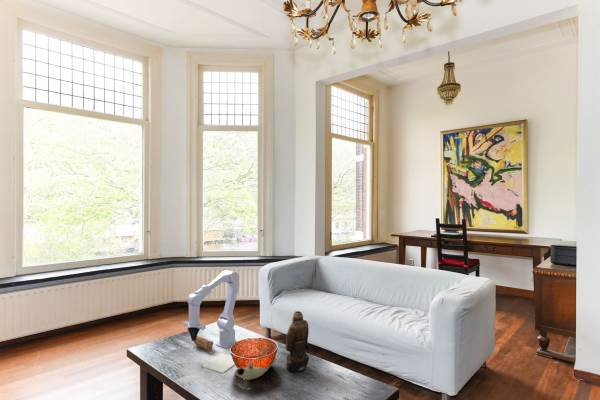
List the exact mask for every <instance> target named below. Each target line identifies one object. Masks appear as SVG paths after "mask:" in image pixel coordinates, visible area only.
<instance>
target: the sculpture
mask: <svg viewBox="0 0 600 400" xmlns="http://www.w3.org/2000/svg"><path fill="white" fill-rule="evenodd" d="M291 320H292V322H291V323H290V325H289V327H288V330H287V333H286V335H285V338H286V340H285V343H286V345H285V346H286V347H285V349H286V351H287V352H289V353H288V354H287V355H286V364H285V369H286V370H287V371H289V372H291V373H295V374H297V373H302V372H304V371H305V370H306V369H307V366H308V364H309V361H310V360H309V359H310V358H309V355H308V354H307V351H306V350H308V349H309V347H310V346H309V340H308V338H309V329H310V328H309V323H308V321H307V320H305V319H304V315H303V313H302V311H299V310H298V311H294V313H293V315H292V319H291Z"/></svg>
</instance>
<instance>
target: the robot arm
mask: <svg viewBox="0 0 600 400" xmlns="http://www.w3.org/2000/svg"><path fill="white" fill-rule="evenodd" d="M239 279H240V275H239V274H238V272H236V271H232V270H229V269H223V271H221V272H220V273H219V275H218V276H217V277H215V278H214V279H213V280H211V282H209V284H204V285H201V287H200V288H199V289H198V290H196V291H194V292H193V293H191V294H190V293H189V295H188V297H187V299H186V303H188V320H185V321H183V322H182V325H183V326H187V331H188V333H189V335H190V339H191V341H192V342H194V341H195V340H196V338H197V336H198V334H199V332H200V330H202V331H203V330H206V325H205V324H203V323H201V322H200V321H201V320H200V319H201V318H200V314H201V313H200V312H201V311H200V309H201V307H200V306H201V304H202V302H203V300H204V299H205V298H206V297H208V296H209V295H210V294H211V293H212V290H213V289H215V288H216V287H218V286H219V285H221V284H223V283H226V284H228V286H229V287H228V292H227V295H226V300H225V305H224V307H223V312H222V313H221V314H220V315H219V317H218V319H217V321H216V324H217V325H216V326H217V327H218V329H219V332H218V333H219V342H218V343H216V344H215V346H217V347H221V348H224V349H227V348H229V347H231V346H232V345H234V344H236V343H237V341H236V330H235V317H234V315H233V313H234V308H235V305H236V304H235V303H236V301H237V296H238V292H239V288H240V280H239ZM235 342H236V343H235Z"/></svg>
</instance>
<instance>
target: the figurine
mask: <svg viewBox="0 0 600 400" xmlns="http://www.w3.org/2000/svg"><path fill="white" fill-rule="evenodd" d="M193 342H194V344H195V346H196V347H197V348H201V349H205V350H208V351H209V352H210V351H212V350H213V347H214V346H213V345H214V340H209V339H207V338H205V337H203V336H202V337H201V336H198V335H197V338H196V340H195V341H193Z"/></svg>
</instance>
